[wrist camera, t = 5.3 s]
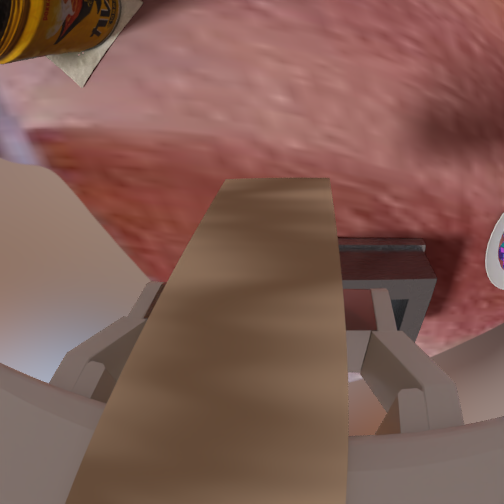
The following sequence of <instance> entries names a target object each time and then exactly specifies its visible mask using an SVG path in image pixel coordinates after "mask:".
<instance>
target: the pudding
mask: <svg viewBox="0 0 504 504" xmlns="http://www.w3.org/2000/svg"><path fill="white" fill-rule="evenodd" d="M503 232H504V213H503V214H502V216H501V217H500V219H499V220H498V222H497V224H496V226H495V228H494V230H493V232H492V234H491V237H490V240H489V242H488V246H487V251H486V259H485V264H486V271H487V275H488V277H489V279H490V281H491V282H492V283H493V284H494V285H495V286H496V287H498V288H500V289H502V290H504V270H503V269H502V267H501V265H500V263H499V260H498V247H499V243H500V239H501V236H502V234H503ZM499 258H500V259H501V260H502V261H504V242H503V243H502V245H501V246H500V248H499ZM503 268H504V263H503Z"/></svg>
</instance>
